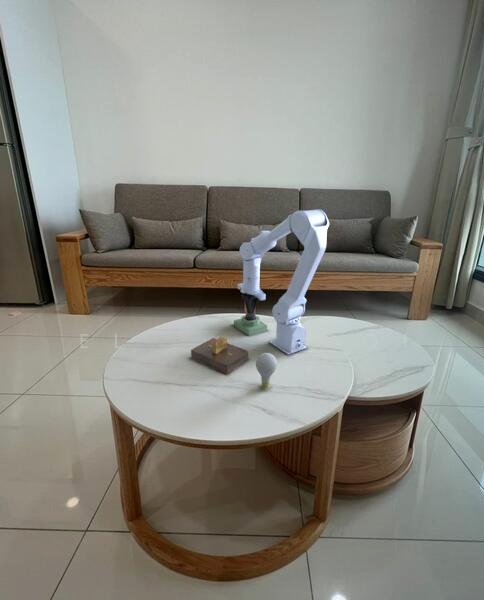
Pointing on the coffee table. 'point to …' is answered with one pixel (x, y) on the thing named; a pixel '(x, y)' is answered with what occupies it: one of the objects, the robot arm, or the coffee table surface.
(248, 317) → the alarm button
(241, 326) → the block
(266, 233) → the robot arm
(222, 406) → the coffee table surface
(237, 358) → the plate
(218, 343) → the thumb turn
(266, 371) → the light bulb
